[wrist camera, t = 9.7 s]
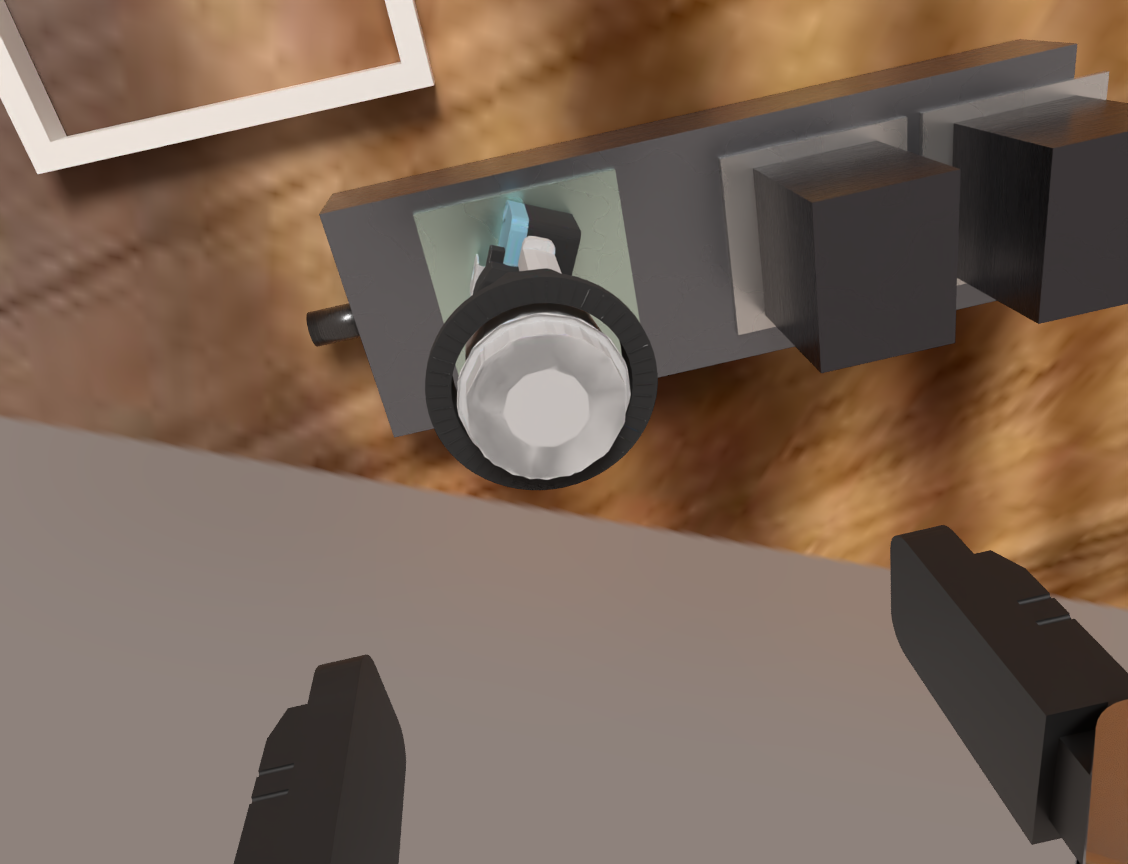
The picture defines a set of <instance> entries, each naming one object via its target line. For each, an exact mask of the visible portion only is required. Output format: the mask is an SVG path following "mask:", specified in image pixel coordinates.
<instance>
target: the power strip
mask: <svg viewBox="0 0 1128 864" xmlns="http://www.w3.org/2000/svg"><path fill="white" fill-rule="evenodd" d="M1076 52H1077V44H1075V43H1061V42H1048V41H1034V40H1021V39H1019V40H1015V41H1011V42H1006V43H1002V44H997V45H993V46H988V47H984V48H979V49H975V50H971V51H966V52H962V53H957V54H953V55H948V56H944V57H939V58H935V59H931V60H926V61H922V62H917V63H913V64H908V65H904V66H899V67H895V68H891V69H886V70H882V71H877V72H873V73H868V74H864V75H859V76H855V77H851V78H846V79H842V80H837V81H833V82H828V83H824V84H819V85H815V86H810V87H806V88H802V89H797V90H793V91H788V92H784V93H779V94H775V95H770V96H766V97H762V98H757V99H753V100H748V101H744V102H739V103H735V104H730V105H726V106H722V107H717V108H713V109H708V110H704V111H699V112H695V113H690V114H686V115H682V116H677V117H673V118H668V119H664V120H659V121H655V122H650V123H646V124H642V125H637V126H633V127H628V128H624V129H619V130H615V131H610V132H606V133H602V134H597V135H593V136H588V137H584V138H579V139H575V140H570V141H566V142H561V143H557V144H553V145H548V146H544V147H539V148H535V149H530V150H526V151H521V152H517V153H513V154H508V155H504V156H499V157H495V158H490V159H486V160H481V161H477V162H473V163H468V164H464V165H459V166H455V167H450V168H446V169H441V170H437V171H433V172H428V173H424V174H419V175H415V176H410V177H406V178H401V179H397V180H393V181H388V182H384V183H379V184H375V185H370V186H366V187H361V188H357V189H353V190H348V191H344V192H339V193H335V194H332V195H331V197H330V198H329V200H328V201H327V203H326V205H325V206H324V208H323V209H322V211H321V212H320V214H319V215H320V218H321V221H322V224H323V227H324V230H325V233H326V236H327V239H328V242H329V245H330V248H331V251H332V254H333V257H334V260H335V263H336V266H337V269H338V272H339V275H340V278H341V281H342V284H343V287H344V289H345V292H346V295H347V298H348V301H349V303H348V304H344V305H339V306H335V307H330V308H326V309H322V310H317V311H313V312H308V313H307V326H308V330H309V333H310V336H311V339H312V341H313V343H314V344H315V345H316V346H317V347H318V346H322V345H327V344H331V343H336V342H340V341H344V340H349V339H353V338H358V337H361V340H362V343H363V346H364V349H365V352H366V355H367V358H368V361H369V364H370V367H371V370H372V373H373V376H374V379H375V382H376V385H377V388H378V391H379V394H380V396H381V399H382V402H383V405H384V408H385V411H386V414H387V417H388V420H389V423H390V426H391V429H392V432H393V435H394V437H398V436H403V435H407V434H411V433H416V432H420V431H425V430H429V429H433V428H434V427H433V425H432V423H431V420H430V417H429V414H428V409H427V404H426V396H425V377H426V369H427V362H428V358H429V354H430V351H431V348H432V345H433V343H434V341H435V338H436V336H437V335H438V333H439V331H440V329H441V327H442V326H443V325H444V323H445V322H446V320H447V319H448V318H449V316H450V315H451V314H452V313H453V312H454V311H455V310H456V309H457V308H458V307H459V306H460V305H461V304H462V303H463V302H464V301H465V300H467V299H468V298H469V297H471V296H470V281H471V276H472V270H473V265H474V260H475V256H476V254H478V256H479V265H480V266H483V267H485V266H486V261H487V256H488V251H489V247H490V245H495V246H498V244H499V239H500V234H501V229H502V224H503V220H502V218H503V213H504V209H505V204H506V201H507V200H509V201H514V202H518V203H523V204H528V205H533V206H537V207H542V208H547V209H551V210H556V211H561V212H566V213H570V214H572V215H573V217H574V219H575V220H576V222H577V224H578V226H579V228H580V230H581V240H580V244H579V248H578V252H577V257H576V261H575V265H574V269H573V273H572V276H576V277H579V278H582V279H585V280H588V281H590V282H592V283H595V284H597V285H599V286H601V287H603V288H604V289H606V290H608V291H609V292H611V293H612V294H613V295H615V296H616V297H617V298H619V299H620V300H621V301H622V302H623V303H624V304H625V305H626V306H627V307H628V308H629V309H630V310H631V311H632V313H633V314H634V315H635V316H636V318H637V319H638V321H639V322H640V324H641V325H642V327H643V329H644V331H645V333H646V335H647V336H648V338H649V340H650V343H651V346H652V348H653V351H654V355H655V359H656V365H657V373H658V377H662V376H667V375H671V374H676V373H680V372H684V371H689V370H693V369H698V368H702V367H706V366H711V365H715V364H720V363H724V362H728V361H733V360H737V359H742V358H746V357H750V356H755V355H759V354H764V353H768V352H773V351H777V350H781V349H786V348H790V347H796V348H797V349H798V350H799V351H800V352H801V353H802V354H803V355H804V356H805V357H806V358H807V359H808V360H809V361H810V362H811V363H812V364H813V365H814V366H815V367H816V368H817V370H818V371H819V372H820V373H824V372H829V371H833V370H838V369H842V368H846V367H851V366H855V365H860V364H864V363H868V362H873V361H877V360H882V359H886V358H890V357H895V356H899V355H904V354H908V353H912V352H917V351H921V350H926V349H930V348H934V347H939V346H943V345H948V344H952V343H955V327H956V310H957V309H962V308H966V307H971V306H975V305H979V304H984V303H988V302H993V301H999V302H1001V303H1002V304H1004V305H1006V306H1008V307H1010V308H1011V309H1013V310H1015V311H1017V312H1018V313H1020V314H1022V315H1024V316H1026V317H1027V318H1029V319H1031V320H1033V321H1034V322H1036V323H1038V324H1040V323H1044V322H1049V321H1053V320H1058V319H1062V318H1066V317H1071V316H1075V315H1079V314H1084V313H1088V312H1093V311H1097V310H1101V309H1106V308H1110V307H1115V306H1119V305H1123V304H1128V103H1122V102H1116V101H1109V100H1106V97H1107V88H1108V79H1109V71H1103V72H1098V73H1094V74H1090V75H1085V76H1081V77H1076V78H1074V74H1075V63H1076ZM590 315H591V314H590ZM591 317H592V318H593V320H594V321H595V322H596V324H597V325H598V327H599V328H600V329H601V331H602V332H603V333H604V334H606V335H607V336H608V337H609V338H610V339H611V340H612V342H613V344H614V345H615V347H616V348H617V350H618V351H619V353H620V354H621V345H620V342H619V339H618V338H617V336H616V335H615V334H614V332H613V331H612V330H611V329H610V328H609V327H608V326H607V325H605V324H604V323H603V322H602V321H600V320H599V319H597V318H596V317H594V316H593V315H591ZM465 345H466V344H465ZM621 356H622V354H621ZM465 362H466V360H465V346H464V347H463V349H462V351H461V352H460V355H459V357H458V359H457V361H456V364H455V367H454V371H453V379H454V384H455V387H456V389H457V381H458V377H459V374H460V371H461V369H462V368H463V366H464V364H465Z"/></svg>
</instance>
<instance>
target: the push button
mask: <svg viewBox="0 0 1128 864" xmlns="http://www.w3.org/2000/svg"><path fill="white" fill-rule="evenodd" d="M502 220H503V224H502V229H501V234H500V239H499V244H498V246H495V245H490V247H489V251H488V256H487V261H486V266H485V267H483V266H480V265H479V256H478V254H476V256H475V260H474V265H473V270H472V276H471V281H470V296H471V297H469V298H468V299H467V300H465V301H464V302H463V303H462V304H461V305H460V306H459V307H458V308H457V309H456V310H455V311H454V312H453V313H452V314H451V315H450V316H449V318H448V319H447V320H446V322H445V323H444V325H443V326H442V327H441V329H440V331H439V333H438V335H437V336H436V338H435V341H434V343H433V345H432V348H431V351H430V354H429V358H428V362H427V369H426V377H425V396H426V404H427V409H428V414H429V417H430V420H431V423H432V425H433V427H434V429H435V431H436V433H437V435H438V437H439V438H440V440H441V442H442V443H443V445H444V446H445V447H446V448H447V450H448V451H449V452H450V453H451V454H452V455H453V456H454V457H455V458H456V459H457V460H458V461H459V462H460V463H461V464H462V465H464V466H465V467H466V468H468V469H469V470H471V471H472V472H474V473H475V474H477V475H479V476H481V477H483V478H485V479H487V480H489V481H492V482H494V483H497V484H500V485H503V486H507V487H512V488H517V489H525V490H549V489H557V488H563V487H567V486H571V485H575V484H578V483H580V482H583V481H586V480H588V479H590V478H592V477H594V476H596V475H598V474H600V473H602V472H603V471H605V470H607V469H608V468H609V467H611V466H612V465H614V464H615V463H616V462H617V461H619V460H620V459H621V458H622V457H623V456H624V455H625V454H626V453H627V452H628V451H629V450H630V449H631V448H632V447H633V445H634V444H635V443H636V441H637V440H638V439H639V437H640V436H641V434H642V432H643V431H644V429H645V428H646V425H647V423H648V421H649V419H650V417H651V414H652V411H653V408H654V404H655V400H656V395H657V386H658V373H657V365H656V359H655V355H654V351H653V348H652V346H651V343H650V340H649V338H648V336H647V335H646V333H645V331H644V329H643V327H642V325H641V324H640V322H639V321H638V319H637V318H636V316H635V315H634V314H633V313H632V311H631V310H630V309H629V308H628V307H627V306H626V305H625V304H624V303H623V302H622V301H621V300H620V299H619V298H617V297H616V296H615V295H613V294H612V293H611V292H609V291H608V290H606V289H604V288H603V287H601V286H599V285H597V284H595V283H592V282H590V281H588V280H585V279H582V278H579V277H576V276H572V273H573V269H574V265H575V261H576V257H577V252H578V248H579V244H580V240H581V230H580V228H579V226H578V224H577V222H576V220H575V219H574V217H573V215H572V214H570V213H566V212H561V211H556V210H551V209H547V208H542V207H537V206H533V205H528V204H523V203H518V202H514V201H509V200H507V201H506V204H505V209H504V213H503V218H502ZM590 314H591V315H593V316H594V317H596V318H597V319H599V320H600V321H602V322H603V323H604V324H605V325H607V326H608V327H609V328H610V329H611V330H612V331H613V332H614V334H615V335H616V336H617V338H618V339H619V342H620V345H621V354H622V356H621V354H620V353H619V351H618V350H617V348H616V347H615V345H614V344H613V342H612V340H611V339H610V338H609V337H608V336H607V335H606V334H604V333H603V332H602V331H601V329H600V328H599V327H598V325H597V324H596V322H595V321H594V320H593V318H592V317H591V315H590ZM465 344H466V345H465ZM464 346H465V360H466V362H465V364H464V366H463V368H462V369H461V371H460V374H459V377H458V381H457V389H456V387H455V384H454V379H453V371H454V367H455V364H456V361H457V359H458V357H459V355H460V352H461V351H462V349H463V347H464Z"/></svg>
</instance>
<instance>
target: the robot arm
mask: <svg viewBox="0 0 1128 864" xmlns="http://www.w3.org/2000/svg"><path fill="white" fill-rule="evenodd" d="M890 557H891V614H892V622H893V626H894V630H895V633H896V637H897V639H898V642H899V644H900V646H901V648H902V650H903V652H904V654H905V656H906V657H907V658H908V660H909V662H910V663H911V665H912V666H913V667H914V669H915V670H916V672H917V674H918V675H919V677H920V678H921V680H922V681H923V683H924V684H925V686H926V687H927V689H928V690H929V692H930V693H931V695H932V696H933V697H934V699H935V700H936V702H937V704H938V705H939V707H940V708H941V709H942V711H943V713H944V714H945V716H946V717H947V718H948V720H949V721H950V723H951V724H952V726H953V728H954V729H955V730H956V732H957V734H958V735H959V737H960V738H961V739H962V741H963V743H964V744H965V745H966V747H967V748H968V750H969V751H970V753H971V754H972V756H973V757H974V759H975V760H976V762H977V763H978V764H979V766H980V768H981V769H982V771H983V772H984V774H985V775H986V777H987V778H988V780H989V781H990V783H991V784H992V786H993V787H994V789H995V790H996V792H997V793H998V795H999V796H1000V798H1001V799H1002V801H1003V802H1004V804H1005V805H1006V807H1007V808H1008V810H1009V811H1010V813H1011V814H1012V816H1013V817H1014V819H1015V820H1016V822H1017V823H1018V825H1019V826H1020V827H1021V829H1022V831H1023V832H1024V834H1025V835H1026V837H1027V838H1028V840H1029V841H1030V843H1031V844H1032V845H1033V844H1037V843H1041V842H1046V841H1050V840H1054V839H1059V838H1062V839H1063V840H1064V841H1065V843H1066V844H1067V845H1068V847H1069V849H1070V850H1071V851H1072V853H1073V854H1074V855H1075V857H1076V861H1075V864H1128V673H1127V672H1126V671H1125V670H1124V669H1123V668H1122V667H1121V666H1120V665H1119V664H1118V663H1117V662H1116V661H1115V660H1114V659H1113V658H1112V657H1111V656H1110V655H1109V654H1108V653H1107V652H1106V650H1105V649H1104V648H1103V647H1102V646H1101V645H1100V644H1099V643H1098V642H1097V641H1096V640H1095V639H1094V638H1093V637H1092V636H1091V635H1090V634H1089V633H1088V632H1087V631H1086V630H1085V629H1084V628H1083V627H1082V626H1081V625H1080V624H1079V623H1078V622H1077V621H1076V620H1075V619H1071V618H1070V615H1069V613H1068V612H1067V611H1066V609H1064V607H1063V606H1062V605H1061V604H1060V603H1059V602H1058V601H1057V600H1056V599H1055V598H1051V597H1050V593H1049V592H1048V591H1047V590H1046V589H1045V588H1044V587H1043V586H1042V585H1041V584H1040V583H1039V582H1038V581H1037V580H1036V579H1035V578H1034V577H1033V576H1032V575H1031V574H1030V573H1029V572H1028V571H1027V570H1026V569H1025V568H1023V567H1022V566H1020V565H1018V564H1016V563H1014V562H1012V561H1010V560H1008V559H1006V558H1004V557H1003V556H1001V555H999V554H997V553H995V552H993V551H991V550H990V551H985V552H981V553H976V554H973V552H972V551H971V550H970V549H969V548H968V547H967V546H966V545H965V544H964V543H963V541H962V540H961V539H960V538H959V537H958V536H957V535H956V534H955V533H954V532H953V531H952V530H951V529H950V528H949V527H947V526H945V525H941V526H936V527H932V528H928V529H923V530H919V531H914V532H910V533H906V534H901V535H897V536H894V537H893V538H892V541H891V547H890ZM405 754H406V753H405V745H404V739H403V734H402V730H401V727H400V724H399V721H398V719H397V716H396V714H395V712H394V709H393V707H392V704H391V702H390V699H389V697H388V695H387V692H386V690H385V687H384V685H383V683H382V681H381V678H380V676H379V673H378V671H377V668H376V666H375V664H374V661H373V660H372V659H371V657H370V656H369V655H362V656H358V657H353V658H349V659H345V660H340V661H336V662H331V663H327V664H323V665H319V666H318V667H317V668H316V670H315V673H314V677H313V682H312V686H311V691H310V695H309V700H308V704H305V705H301V706H296V707H292V708H288V709H287V711H286V712H285V714H284V715H283V716H282V718H281V719H280V721H279V722H278V724H277V725H276V727H275V728H274V730H273V731H272V733H271V734H270V735H269V737H268V738H267V741H266V744H265V748H264V752H263V756H262V759H261V763H260V767H259V777H257V778H256V782H255V786H254V790H253V793H252V804H250V805H249V808H248V812H247V816H246V820H245V823H244V828H243V831H242V835H241V839H240V842H239V846H238V850H237V853H236V857H235V861H234V864H398V862H399V849H400V836H401V822H402V811H403V796H404V783H405V771H406V755H405Z"/></svg>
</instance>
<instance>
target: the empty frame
mask: <svg viewBox="0 0 1128 864" xmlns="http://www.w3.org/2000/svg"><path fill="white" fill-rule="evenodd" d="M385 3H386V7H387V11H388V14H389V18H390V22H391V26H392V29H393V33H394V37H395V41H396V44H397V48H398V52H399V56H400V59H401V62H397V63H393V64H388V65H384V66H379V67H375V68H370V69H366V70H361V71H357V72H352V73H348V74H344V75H339V76H335V77H330V78H326V79H321V80H317V81H312V82H308V83H303V84H299V85H294V86H290V87H285V88H281V89H277V90H272V91H268V92H263V93H259V94H254V95H250V96H245V97H241V98H236V99H232V100H227V101H223V102H219V103H214V104H210V105H205V106H201V107H196V108H192V109H187V110H183V111H178V112H174V113H169V114H165V115H160V116H156V117H152V118H147V119H143V120H138V121H134V122H129V123H125V124H120V125H116V126H111V127H107V128H102V129H98V130H93V131H89V132H85V133H80V134H76V135H71V136H66V134H65V131H64V129H63V127H62V125H61V123H60V121H59V118H58V116H57V114H56V112H55V110H54V108H53V105H52V103H51V101H50V99H49V97H48V95H47V92H46V90H45V88H44V86H43V84H42V82H41V79H40V77H39V75H38V73H37V71H36V69H35V66H34V64H33V62H32V60H31V58H30V56H29V53H28V51H27V49H26V47H25V45H24V43H23V40H22V38H21V36H20V34H19V32H18V30H17V27H16V25H15V23H14V21H13V19H12V16H11V14H10V12H9V10H8V8H7V6H6V3H5V1H4V0H0V98H1V100H2V102H3V104H4V106H5V108H6V110H7V112H8V114H9V116H10V118H11V120H12V122H13V124H14V127H15V129H16V131H17V133H18V135H19V137H20V139H21V141H22V143H23V145H24V147H25V149H26V151H27V153H28V155H29V157H30V159H31V161H32V163H33V166H34V168H35V170H36V172H37V174H41V173H46V172H50V171H55V170H59V169H63V168H68V167H72V166H77V165H81V164H86V163H90V162H95V161H99V160H104V159H108V158H113V157H117V156H121V155H126V154H130V153H135V152H139V151H144V150H148V149H153V148H157V147H162V146H166V145H171V144H175V143H179V142H184V141H188V140H193V139H197V138H202V137H206V136H211V135H215V134H220V133H224V132H229V131H233V130H237V129H242V128H246V127H251V126H255V125H260V124H264V123H269V122H273V121H278V120H282V119H287V118H291V117H295V116H300V115H304V114H309V113H313V112H318V111H322V110H327V109H331V108H336V107H340V106H344V105H349V104H353V103H358V102H362V101H367V100H371V99H376V98H380V97H385V96H389V95H394V94H398V93H402V92H407V91H411V90H416V89H420V88H425V87H429V86H434V84H435V80H434V76H433V72H432V68H431V64H430V60H429V56H428V52H427V48H426V44H425V40H424V36H423V32H422V28H421V24H420V20H419V16H418V12H417V8H416V4H415V0H385Z"/></svg>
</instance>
